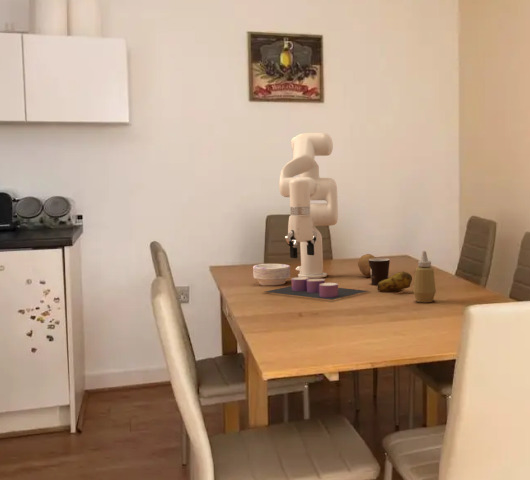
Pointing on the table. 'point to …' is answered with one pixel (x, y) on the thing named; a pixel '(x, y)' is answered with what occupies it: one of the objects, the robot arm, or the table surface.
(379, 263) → the coffee mug
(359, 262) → the natural sponge
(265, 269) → the paper bowls
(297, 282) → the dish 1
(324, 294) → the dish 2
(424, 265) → the squeeze bottle
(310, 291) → the dish mid
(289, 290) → the placemat
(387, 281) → the potato
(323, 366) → the table surface
